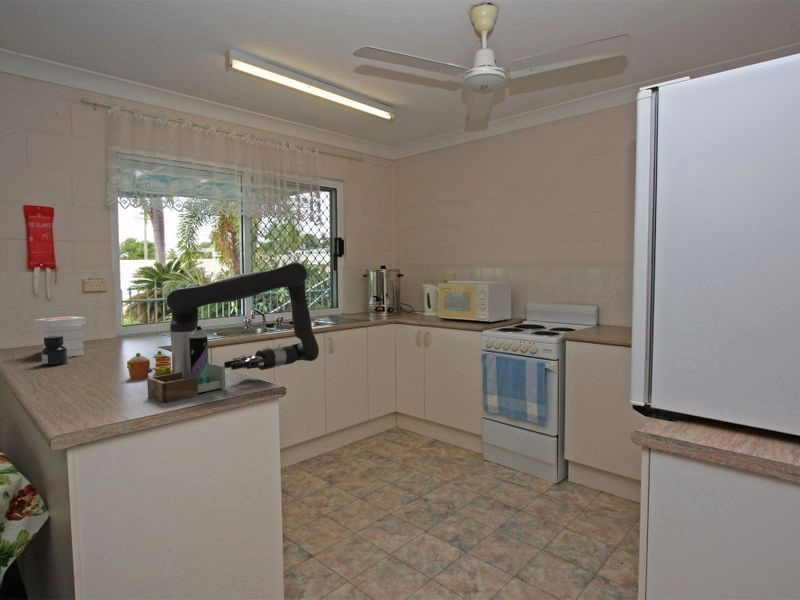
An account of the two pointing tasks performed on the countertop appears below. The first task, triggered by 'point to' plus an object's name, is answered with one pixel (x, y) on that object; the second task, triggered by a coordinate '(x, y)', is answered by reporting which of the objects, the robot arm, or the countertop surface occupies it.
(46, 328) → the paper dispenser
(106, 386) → the countertop surface
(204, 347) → the spray can
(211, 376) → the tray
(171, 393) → the frame
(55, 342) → the ink bottle
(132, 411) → the countertop surface
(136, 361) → the toy tea set
